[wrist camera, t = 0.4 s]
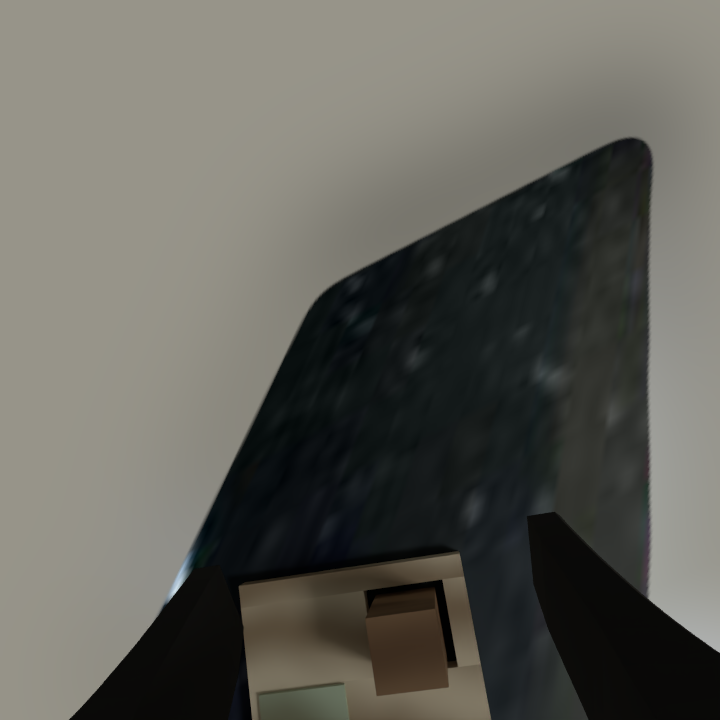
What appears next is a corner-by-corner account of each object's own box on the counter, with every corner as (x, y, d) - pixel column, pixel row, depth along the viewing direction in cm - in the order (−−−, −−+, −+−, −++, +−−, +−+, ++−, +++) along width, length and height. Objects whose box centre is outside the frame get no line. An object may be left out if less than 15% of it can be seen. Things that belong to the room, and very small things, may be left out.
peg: (446, 651, 35) (448, 687, 29) (386, 659, 35) (376, 696, 29) (434, 586, 36) (435, 608, 30) (375, 594, 36) (365, 618, 30)
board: (503, 788, 33) (506, 803, 31) (268, 812, 34) (261, 828, 33) (458, 551, 36) (459, 554, 34) (244, 582, 37) (237, 586, 36)
